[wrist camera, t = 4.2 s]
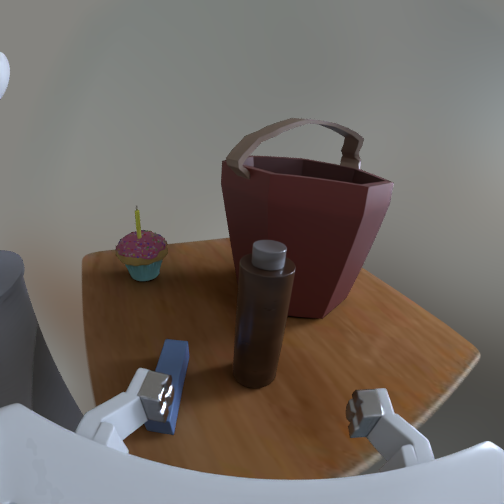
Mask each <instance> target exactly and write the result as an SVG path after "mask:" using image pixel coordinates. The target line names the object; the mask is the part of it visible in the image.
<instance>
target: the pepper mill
mask: <svg viewBox="0 0 504 504" xmlns="http://www.w3.org/2000/svg"><path fill="white" fill-rule="evenodd" d="M286 251H287V247H286V246H285V245H284V244H283V243H281V242H278V241H274V240H259V241H256V242H254V244H253V249H252V253H250V254H247V255H245V256H243V257H242V258H241V260H240V266H239V280H238V295H237V310H236V325H235V341H234V358H233V375H234V377H235V379H236V380H237V381H238V382H239V383H240V384H242V385H244V386H247V387H251V388H261V387H264V386H267V385H269V384H270V383H271V382H272V381H273V380H274V378H275V375H276V370H277V365H278V361H279V356H280V351H281V346H282V341H283V336H284V331H285V325H286V320H287V315H288V309H289V304H290V298H291V293H292V287H293V281H294V275H295V269H296V267H295V264H294V262H293V261H291V260H290V259H288V258H287V257H286Z"/></svg>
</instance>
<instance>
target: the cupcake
mask: <svg viewBox="0 0 504 504" xmlns="http://www.w3.org/2000/svg"><path fill="white" fill-rule="evenodd" d="M135 219H136V229H137V231H135V232H131V233H130V234H128V235H126V236H125V237H123V238H122V239H120V241H119V243H118V245H117V246H116V249H115V250H116V256H117V257H118V259H119V260H120V261H121V262H122V263H124V264H125V265H126V267H127V269H128V271H129V273H130V275H131V277H132V278H133V279H135V280H137V281H148V280H152V279H154V278H156V277H157V276H158V275H159V271H160V267H161V263H162V260H163V258H164V257H165V256H166V255H167V254H168V248H167V245H168V244H167V241H165V238H163V237H162V236H161V235H159V234H156V233H153V232H152V231H145V230H141V227H140V214H139V210H138V209H137V206H136V211H135Z"/></svg>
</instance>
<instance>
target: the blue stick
mask: <svg viewBox="0 0 504 504" xmlns="http://www.w3.org/2000/svg"><path fill="white" fill-rule="evenodd" d="M188 361H189V348H188V341H179V340H170V339H166V340H165V343H164V346H163V349H162V352H161V355H160V358H159V361H158V364H157V367H156V370H155V371H156V372H160V373H164V374H169V375H172V383H171V384H172V385H173V386H174V398H173V402H172V405H170V406H169V407H168V409H169V414H168V417H167V420H166V423H162V422H158V421H153V420H149V419H148V421H146V422H145V423H144V424H145V427H146V429H147V430H148V431H153V432H159V433H165V434H171V435H174V430H175V425H176V420H177V415H178V409H179V404H180V399H181V394H182V389H183V385H184V380H185V375H186V370H187V365H188Z"/></svg>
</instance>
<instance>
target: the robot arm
mask: <svg viewBox="0 0 504 504" xmlns="http://www.w3.org/2000/svg"><path fill="white" fill-rule="evenodd" d="M9 78H10V66H9V62H8V60H7V58H6V56H5V55H4V54H3V53H2V52H0V99H1V98H2V96H3V94H4V93H5V91H6V88H7V86H8V82H9ZM171 383H172V375H169V374H164V373H160V372H156V371H152V370H148V369H144V368H139V369H138V370H137V371H136V373H135V375H134V377H133V379H132V381H131V383H130V385H129V387H128V389H127V391H126V393H125V392H122V393H120V394H119V395H117V396H115V397H113V398H111V399H110V400H108V401H106V402H104V403H103V404H101V405H99V406H97V407H95V408H93V409H92V410H90V411H88V412H86V413H85V415H84V416H83V418H82V420H81V422H80V424H79V425H78V427H77V429H76V431H75V433H74V432H72V431H70V430H68V429H66V428H63V427H61V426H59V425H57V424H55V423H54V422H52V421H50V420H48V419H46V418H44V417H42V416H41V415H39V414H37V413H35V412H34V411H32V410H30V409H29V408H27V407H25V406H24V405H22V404H19V403H14V404H10V405H7V406H4V407H2V408H0V504H504V450H502V449H501V448H499V447H498V446H497V445H495V444H494V443H492V442H490V441H485V442H482V443H480V444H477V445H475V446H473V447H470V448H468V449H465V450H463V451H459V452H457V453H454V454H451V455H448V456H445V457H442V458H438V459H435V458H434V455H433V452H432V449H431V446H430V443H429V440H428V439H427V438H426V437H424V436H423V435H422V434H421V433H420V432H418V431H417V430H416V429H415V428H414V427H412V426H411V425H410V424H409V423H407V422H406V421H405V420H404V419H403V418H401V417H400V416H399V415H398V414H395V413H394V410H393V407H392V404H391V401H390V398H389V396H388V393H387V390H386V389H385V388H383V389H364V390H355V391H354V392H353V394H352V399H351V400H349V401H348V404H347V407H346V418H347V420H348V421H349V422H350V424H349V426H348V429H349V435H350V438H355V437H366V438H367V439H368V440H369V441H370V442H371V443H372V445H373V446H374V447H375V448H376V449H377V450H378V452H379V453H380V454H381V455H382V456H383V457H384V458H385V460H386V461H387V462H386V463H385V464H384V465H383V466H382V467H381V468H380V469H379V473H374V474H368V475H360V476H352V477H343V478H331V479H314V480H271V479H254V478H242V477H233V476H224V475H217V474H210V473H204V472H199V471H193V470H188V469H183V468H179V467H174V466H170V465H166V464H162V463H158V462H154V461H150V460H147V459H143V458H140V457H137V456H134V455H130V454H128V452H129V451H128V449H127V447H126V445H125V444H124V442H123V441H122V440H123V439H125V438H126V437H127V436H128V435H130V434H131V433H132V432H134V431H135V430H136V429H137V428H139V427H140V426H141V425H143V424H144V423H145V422H146V421H148V419H149V420H153V421H158V422H162V423H166V420H167V417H168V414H169V409H168V407H169V406H170V405H172V402H173V398H174V386H173V385H172V384H171Z"/></svg>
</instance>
